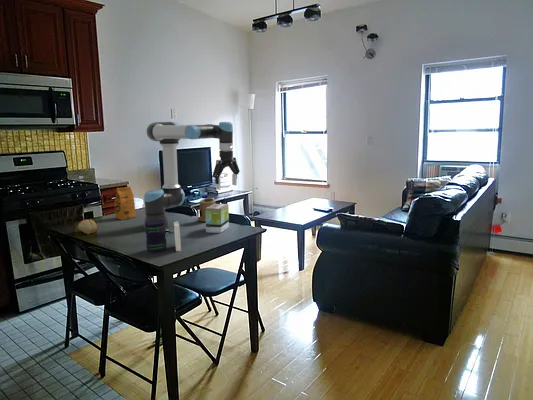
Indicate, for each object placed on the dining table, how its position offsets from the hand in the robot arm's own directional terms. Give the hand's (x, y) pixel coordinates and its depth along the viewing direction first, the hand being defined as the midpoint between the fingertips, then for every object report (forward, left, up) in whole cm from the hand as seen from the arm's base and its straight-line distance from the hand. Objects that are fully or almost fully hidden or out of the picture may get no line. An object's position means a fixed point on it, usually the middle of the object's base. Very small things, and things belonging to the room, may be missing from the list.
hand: (226, 187), depth 230 cm
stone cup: (-31, +19, -27) cm, 45 cm away
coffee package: (-90, -2, -27) cm, 94 cm away
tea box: (-10, +2, -27) cm, 29 cm away
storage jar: (-11, -45, -27) cm, 53 cm away
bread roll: (-78, -39, -27) cm, 91 cm away
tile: (-4, -37, -27) cm, 46 cm away
